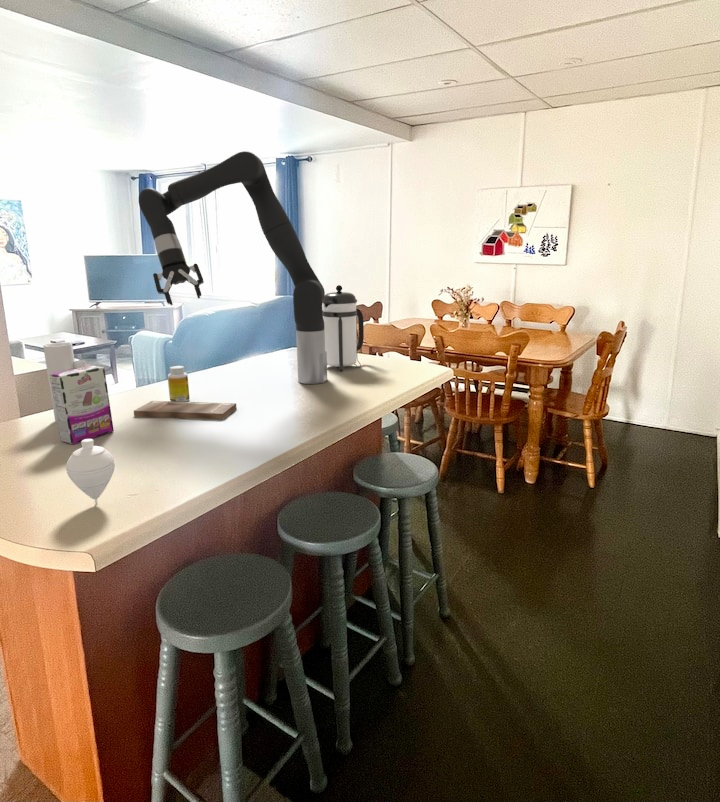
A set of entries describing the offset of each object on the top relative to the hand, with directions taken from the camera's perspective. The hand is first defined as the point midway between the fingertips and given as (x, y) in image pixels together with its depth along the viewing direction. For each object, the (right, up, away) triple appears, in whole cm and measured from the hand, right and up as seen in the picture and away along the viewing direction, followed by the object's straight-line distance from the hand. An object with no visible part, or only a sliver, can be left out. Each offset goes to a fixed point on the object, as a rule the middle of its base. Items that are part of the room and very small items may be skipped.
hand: (185, 301), depth 176 cm
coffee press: (+48, -18, +36) cm, 62 cm away
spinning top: (+8, -49, -75) cm, 90 cm away
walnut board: (+7, -34, -21) cm, 41 cm away
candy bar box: (-11, -40, -40) cm, 57 cm away
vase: (-20, -36, -27) cm, 49 cm away
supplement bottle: (+1, -31, -9) cm, 33 cm away
